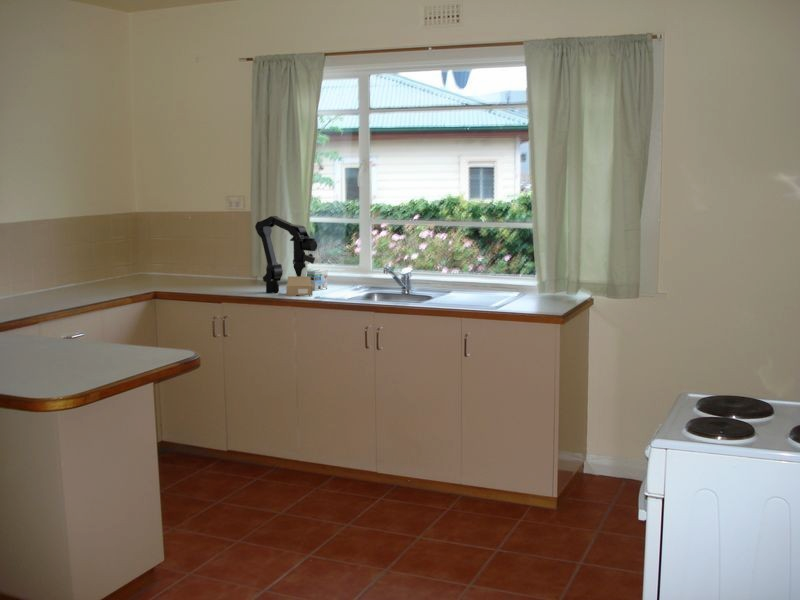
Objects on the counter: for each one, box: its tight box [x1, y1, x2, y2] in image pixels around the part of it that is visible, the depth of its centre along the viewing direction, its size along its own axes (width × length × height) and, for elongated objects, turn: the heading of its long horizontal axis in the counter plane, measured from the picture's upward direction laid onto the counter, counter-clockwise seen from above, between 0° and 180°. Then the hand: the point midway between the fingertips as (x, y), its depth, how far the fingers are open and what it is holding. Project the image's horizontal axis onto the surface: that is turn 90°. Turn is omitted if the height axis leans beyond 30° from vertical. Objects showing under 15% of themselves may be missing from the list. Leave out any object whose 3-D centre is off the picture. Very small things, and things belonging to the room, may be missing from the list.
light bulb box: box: [306, 269, 328, 291], centre depth 491 cm, size 11×7×11 cm, turn 143°
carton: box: [286, 283, 313, 297], centre depth 469 cm, size 14×11×5 cm
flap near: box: [287, 276, 311, 286], centre depth 463 cm, size 12×5×1 cm
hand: (299, 279), depth 464 cm, fingers closed
